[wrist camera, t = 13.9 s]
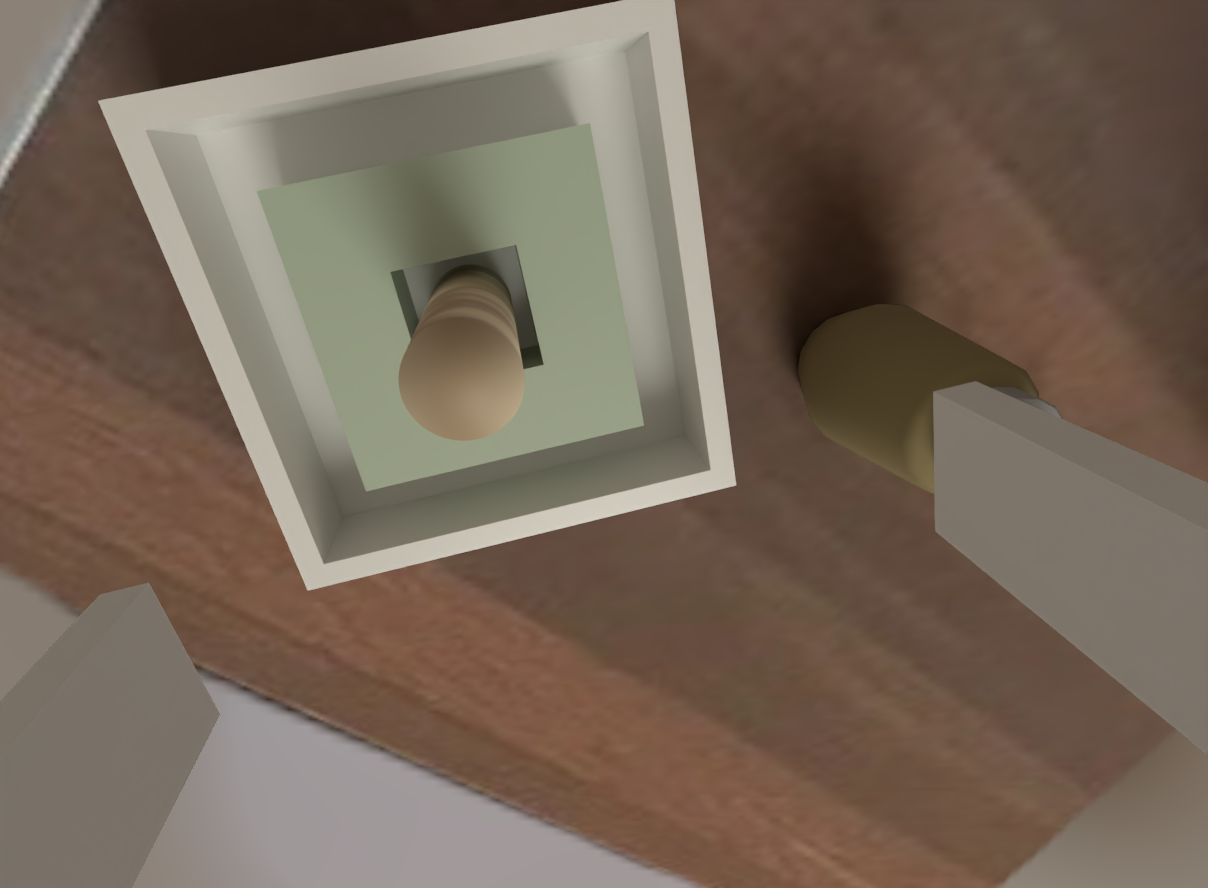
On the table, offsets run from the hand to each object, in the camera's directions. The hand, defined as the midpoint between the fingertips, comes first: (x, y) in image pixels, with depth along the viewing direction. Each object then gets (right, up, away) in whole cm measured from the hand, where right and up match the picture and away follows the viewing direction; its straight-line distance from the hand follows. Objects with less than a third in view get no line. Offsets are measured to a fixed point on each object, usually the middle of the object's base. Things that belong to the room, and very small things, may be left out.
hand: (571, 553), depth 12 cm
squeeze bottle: (+15, +7, +29) cm, 33 cm away
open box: (-6, +9, +25) cm, 27 cm away
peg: (-6, +9, +24) cm, 26 cm away
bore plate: (-6, +9, +25) cm, 27 cm away
